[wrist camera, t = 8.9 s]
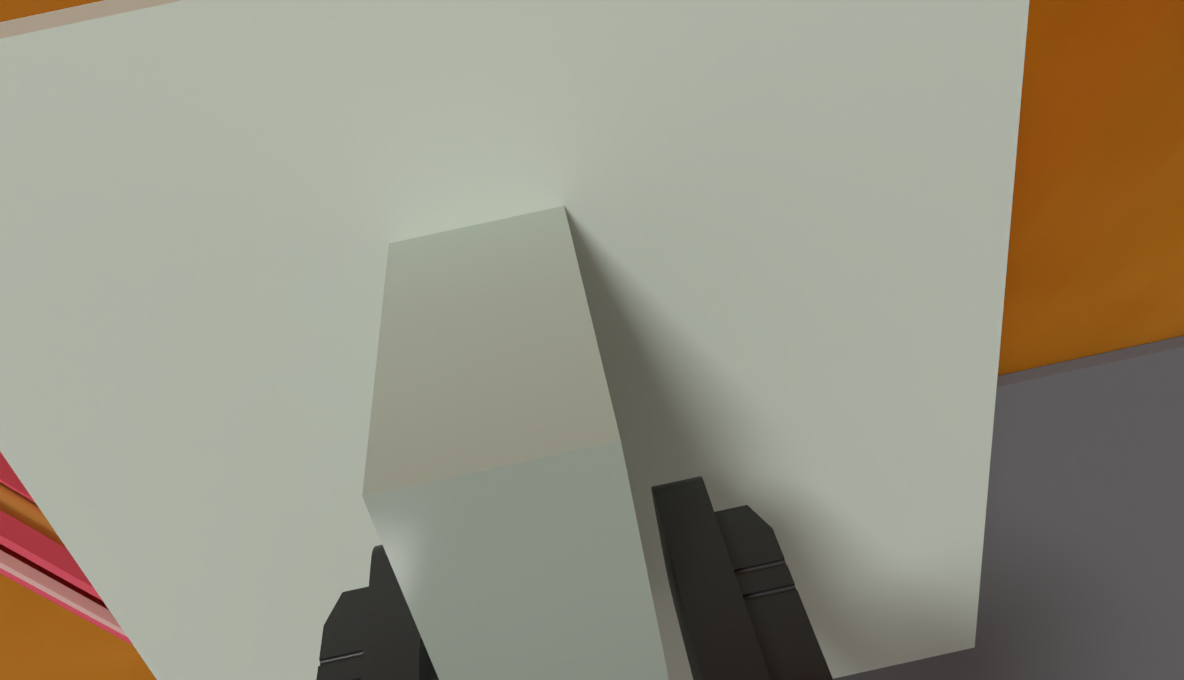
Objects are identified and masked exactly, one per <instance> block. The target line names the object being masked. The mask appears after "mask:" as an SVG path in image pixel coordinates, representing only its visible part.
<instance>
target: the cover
mask: <svg viewBox="0 0 1184 680" xmlns="http://www.w3.org/2000/svg"><path fill="white" fill-rule="evenodd" d="M1028 10H1029V0H104V1H99V2H94V3H90V4H85V5H80V6H75V7H71V8H66V9H61V10H56V11H52V12H47V13H42V14H37V15H33V16H28V17H23V18H18V19H14V20H9V21H4V22H0V452H1V453H2V455H3V456H4V458H5V459H6V461H7V462H8V463H9V465H10V466H11V468H12V469H13V471H14V472H15V474H16V475H17V477H18V478H19V479H20V481H21V482H22V484H23V485H24V487H25V488H26V490H27V491H28V493H29V494H30V495H31V497H32V498H33V500H34V501H35V503H36V504H37V506H38V507H39V509H40V510H41V512H42V513H43V514H44V516H45V517H46V519H47V520H48V522H49V523H50V525H51V526H52V528H53V529H54V530H55V532H56V533H57V535H58V536H59V538H60V539H61V541H62V542H63V544H64V545H65V546H66V548H67V549H68V551H69V552H70V554H71V555H72V557H73V558H74V560H75V561H76V562H77V564H78V565H79V567H80V568H81V570H82V571H83V573H84V574H85V576H86V577H87V578H88V580H89V581H90V583H91V584H92V586H93V587H94V589H95V590H96V592H97V593H98V595H99V596H100V597H101V599H102V600H103V602H104V603H105V605H106V606H107V608H108V609H109V611H110V612H111V613H112V615H113V616H114V618H115V619H116V621H117V622H118V624H119V625H120V627H121V628H122V629H123V631H124V632H125V634H126V635H127V637H128V638H129V640H130V641H131V643H132V644H133V645H134V647H135V648H136V650H137V651H138V653H139V654H140V656H141V657H142V659H143V660H144V662H145V663H146V664H147V666H148V667H149V669H150V670H151V672H152V673H153V675H154V676H155V678H156V679H157V680H316V679H317V671H318V666H320V661H319V656H320V649H321V641H322V634H323V626H324V624H325V622H326V620H327V619H328V617H329V615H330V613H331V612H332V610H333V608H334V606H335V604H336V603H337V601H338V599H339V597H340V596H341V594H342V592H345V591H350V590H354V589H359V588H364V587H368V586H369V578H370V566H371V556H372V551H373V548H374V547H375V546H378V545H383V547H384V550H385V552H386V554H387V557H388V559H389V562H390V564H391V566H392V569H393V571H394V574H395V576H396V578H397V581H398V583H399V585H400V588H401V590H402V593H403V595H404V597H405V600H406V602H407V605H408V607H409V609H410V612H411V614H412V616H413V619H414V621H415V624H416V626H417V628H418V631H419V633H420V635H421V638H422V640H423V643H424V645H425V647H426V650H427V652H428V655H429V657H430V659H431V662H432V664H433V666H434V669H435V671H436V674H437V676H438V678H439V680H693V677H692V673H691V669H690V665H689V661H688V657H687V653H686V649H685V646H684V642H683V638H682V634H681V630H680V626H679V622H678V618H677V614H676V610H675V607H674V603H673V598H672V594H671V590H670V586H669V581H668V576H667V572H666V567H665V562H664V557H663V551H662V546H661V540H660V535H659V529H658V524H657V519H656V513H655V508H654V502H653V497H652V491H651V487H653V486H657V485H662V484H666V483H671V482H676V481H680V480H685V479H689V478H694V477H699V476H701V477H702V478H703V481H704V483H705V486H706V489H707V492H708V495H709V498H710V501H711V504H712V507H713V510H714V512H716V511H721V510H725V509H730V508H735V507H739V506H744V505H748V506H749V507H750V508H751V509H752V510H753V511H754V512H755V513H757V514H758V515H759V516H760V517H761V518H762V519H763V520H764V521H765V522H766V523H767V524H768V525H770V526H771V527H772V528H773V531H774V533H775V536H776V538H777V541H778V543H779V546H780V548H781V551H782V553H783V556H784V558H785V562H786V565H787V566H788V568H789V571H790V573H791V576H792V578H793V581H794V583H795V587H796V590H797V591H798V593H799V596H800V598H801V600H802V603H803V605H804V608H805V610H806V613H807V615H808V618H809V620H810V623H811V625H812V628H813V630H814V633H815V635H816V638H817V640H818V643H819V645H820V648H821V650H822V653H823V655H824V658H825V660H826V663H827V665H828V668H829V670H830V673H831V675H832V678H833V679H834V678H839V677H843V676H848V675H852V674H857V673H861V672H866V671H870V670H875V669H879V668H884V667H889V666H893V665H898V664H902V663H907V662H911V661H916V660H920V659H925V658H929V657H934V656H938V655H943V654H947V653H952V652H956V651H961V650H965V649H970V648H974V647H975V636H976V625H977V613H978V601H979V589H980V577H981V566H982V554H983V542H984V530H985V518H986V506H987V495H988V483H989V471H990V459H991V447H992V436H993V424H994V412H995V400H996V388H997V376H998V365H999V353H1000V341H1001V329H1002V317H1003V306H1004V294H1005V282H1006V270H1007V258H1008V246H1009V235H1010V223H1011V211H1012V199H1013V187H1014V176H1015V164H1016V152H1017V140H1018V128H1019V117H1020V105H1021V93H1022V81H1023V69H1024V57H1025V46H1026V34H1027V22H1028Z"/></svg>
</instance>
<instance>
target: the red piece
mask: <svg viewBox="0 0 1184 680" xmlns="http://www.w3.org/2000/svg"><path fill="white" fill-rule="evenodd" d="M0 574H2V575H4V576H6V577H8V578H10V579H12V580H13V581H15V582H17V583H19V584H21V585H23V586H24V587H26V588H28V589H30V590H32V591H34V592H36V593H37V594H39V595H41V596H43V597H45V598H47V599H49V600H50V601H52V602H54V603H56V604H58V605H60V606H61V607H63V608H65V609H67V610H69V611H71V612H73V613H74V614H76V615H78V616H80V617H82V618H84V619H86V620H87V621H89V622H91V623H93V624H95V625H97V626H98V627H100V628H102V629H104V630H106V631H108V632H110V633H111V634H113V635H115V636H117V637H119V638H121V639H123V640H124V641H126V642H128V643H130V644H132V643H131V641H130V640H129V638H128V637H127V635H126V634H125V632H124V631H123V629H122V628H121V627H120V625H119V624H118V622H117V621H116V619H115V618H114V616H113V615H112V613H111V612H110V611H109V609H108V608H107V606H106V605H105V603H104V602H103V600H102V599H101V597H100V596H99V595H98V593H97V592H96V590H95V589H94V587H93V586H92V584H91V583H90V581H89V580H88V578H87V577H86V576H85V574H84V573H83V571H82V570H81V568H80V567H79V565H78V564H77V562H76V561H75V560H74V558H73V557H72V555H71V554H70V552H69V551H68V549H67V548H66V546H65V545H64V544H63V542H62V541H61V539H60V538H59V536H58V535H57V533H56V532H55V530H54V529H53V528H52V526H51V525H50V523H49V522H48V520H47V519H46V517H45V516H44V514H43V513H42V512H41V510H40V509H39V507H38V506H37V504H36V503H35V501H34V500H33V498H32V497H31V495H30V494H29V493H28V491H27V490H26V488H25V487H24V485H23V484H22V482H21V481H20V479H19V478H18V477H17V475H16V474H15V472H14V471H13V469H12V468H11V466H10V465H9V463H8V462H7V461H6V459H5V458H4V456H3V455H2V453H1V452H0ZM132 645H133V644H132Z"/></svg>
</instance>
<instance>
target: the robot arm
mask: <svg viewBox="0 0 1184 680" xmlns="http://www.w3.org/2000/svg"><path fill="white" fill-rule="evenodd" d="M651 491H652V497H653V502H654V508H655V513H656V519H657V524H658V529H659V535H660V540H661V546H662V551H663V557H664V562H665V567H666V572H667V576H668V581H669V586H670V590H671V594H672V598H673V603H674V607H675V610H676V614H677V618H678V622H679V626H680V630H681V634H682V638H683V642H684V646H685V649H686V653H687V657H688V661H689V665H690V669H691V673H692V677H693V680H833V678H832V675H831V673H830V670H829V668H828V665H827V663H826V660H825V658H824V655H823V653H822V650H821V648H820V645H819V643H818V640H817V638H816V635H815V633H814V630H813V628H812V625H811V623H810V620H809V618H808V615H807V613H806V610H805V608H804V605H803V603H802V600H801V598H800V596H799V593H798V591H797V590H796V587H795V583H794V581H793V578H792V576H791V573H790V571H789V568H788V566H787V565H786V562H785V558H784V556H783V553H782V551H781V548H780V546H779V543H778V541H777V538H776V536H775V533H774V531H773V528H772V527H771V526H770V525H768V524H767V523H766V522H765V521H764V520H763V519H762V518H761V517H760V516H759V515H758V514H757V513H755V512H754V511H753V510H752V509H751V508H750V507H749V506H748V505H744V506H739V507H735V508H730V509H725V510H721V511H716V512H714V510H713V507H712V504H711V501H710V498H709V495H708V492H707V489H706V486H705V483H704V481H703V478H702V477H701V476H699V477H694V478H689V479H685V480H680V481H676V482H671V483H666V484H662V485H657V486H653V487H651ZM319 661H320V666H318V671H317V679H316V680H439V678H438V676H437V674H436V671H435V669H434V666H433V664H432V662H431V659H430V657H429V655H428V652H427V650H426V647H425V645H424V643H423V640H422V638H421V635H420V633H419V631H418V628H417V626H416V624H415V621H414V619H413V616H412V614H411V612H410V609H409V607H408V605H407V602H406V600H405V597H404V595H403V593H402V590H401V588H400V585H399V583H398V581H397V578H396V576H395V574H394V571H393V569H392V566H391V564H390V562H389V559H388V557H387V554H386V552H385V550H384V547H383V545H378V546H375V547H374V548H373V551H372V556H371V566H370V578H369V586H368V587H364V588H359V589H354V590H350V591H345V592H342V594H341V596H340V597H339V599H338V601H337V603H336V604H335V606H334V608H333V610H332V612H331V613H330V615H329V617H328V619H327V620H326V622H325V624H324V626H323V634H322V641H321V649H320V656H319Z"/></svg>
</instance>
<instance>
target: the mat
mask: <svg viewBox="0 0 1184 680" xmlns="http://www.w3.org/2000/svg"><path fill="white" fill-rule="evenodd" d="M833 680H1184V336H1180V337H1176V338H1171V339H1167V340H1162V341H1157V342H1153V343H1148V344H1143V345H1139V346H1134V347H1130V348H1125V349H1120V350H1116V351H1111V352H1107V353H1102V354H1097V355H1093V356H1088V357H1084V358H1079V359H1074V360H1070V361H1065V362H1061V363H1056V364H1051V365H1047V366H1042V367H1037V368H1033V369H1028V370H1024V371H1019V372H1014V373H1010V374H1005V375H1001V376H997V388H996V400H995V412H994V424H993V436H992V447H991V459H990V471H989V483H988V495H987V506H986V518H985V530H984V542H983V554H982V566H981V577H980V589H979V601H978V613H977V625H976V636H975V647H974V648H970V649H965V650H961V651H956V652H952V653H947V654H943V655H938V656H934V657H929V658H925V659H920V660H916V661H911V662H907V663H902V664H898V665H893V666H889V667H884V668H879V669H875V670H870V671H866V672H861V673H857V674H852V675H848V676H843V677H839V678H834V679H833Z"/></svg>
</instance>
